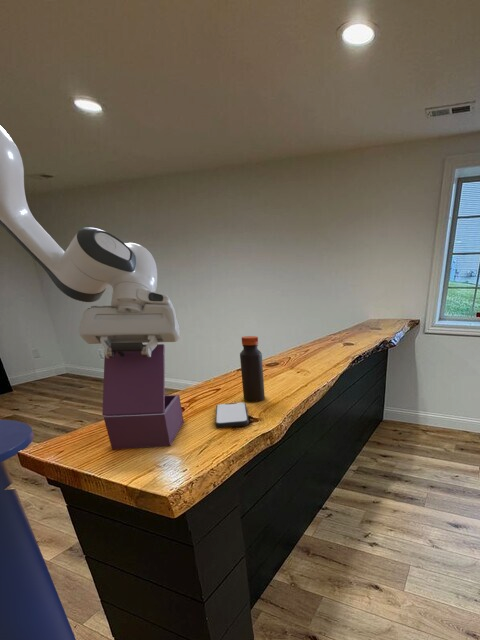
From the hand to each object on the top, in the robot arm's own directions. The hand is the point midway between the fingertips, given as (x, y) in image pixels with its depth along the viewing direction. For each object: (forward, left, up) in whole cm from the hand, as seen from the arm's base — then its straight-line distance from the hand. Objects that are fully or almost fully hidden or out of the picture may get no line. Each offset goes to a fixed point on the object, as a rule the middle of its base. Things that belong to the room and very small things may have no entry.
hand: (128, 356), depth 75 cm
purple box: (0, +4, -20) cm, 21 cm away
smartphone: (+19, +14, -20) cm, 31 cm away
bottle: (+25, +30, -20) cm, 44 cm away
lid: (0, +1, -6) cm, 6 cm away
